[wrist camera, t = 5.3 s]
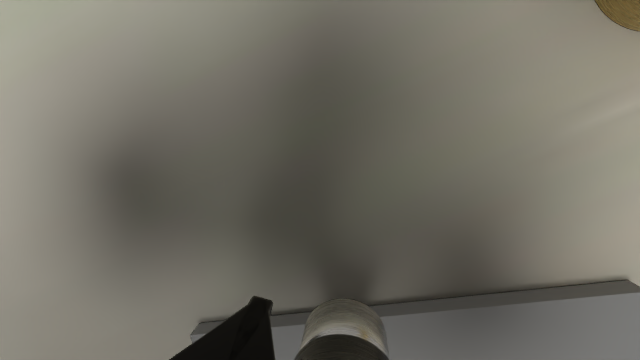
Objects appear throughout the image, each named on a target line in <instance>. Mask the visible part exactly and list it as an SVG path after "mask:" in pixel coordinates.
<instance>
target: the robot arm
mask: <svg viewBox="0 0 640 360" xmlns="http://www.w3.org/2000/svg"><path fill="white" fill-rule="evenodd" d="M272 306H273V302H272V301H271V300H268V299H265V298H261V297H257V296H253V297H252V298H251V300H250V302H249V303H248V305H246V306H245V307H244V308H242V309H241V310H239V311H238V312H236V313H235V314H234V315H232V316H231V317H229V318H228V319H226V320H225V321H224V322H222V323H221V324H219V325H218V326H216V327H215V328H214V329H212V330H211V331H209V332H208V333H206V334H205V335H204V336H202V337H201V338H199V339H198V340H196V341H195V342H194V343H192V344H191V345H189V346H188V347H186V348H185V349H184V350H182V351H181V352H179V353H178V354H176V355H175V356H174V357H172V358H171V359H169V360H275V353H274V345H273V337H272V329H271V321H270V314H271V310H272Z"/></svg>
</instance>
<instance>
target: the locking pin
mask: <svg viewBox="0 0 640 360" xmlns="http://www.w3.org/2000/svg"><path fill="white" fill-rule="evenodd" d="M595 1H596V2H597V4H598V6H599V7H600V9H601V10H602V11H603V12H604V13H605V15H607V16H608V17H609V18H610V19H611V20H613V21H614V22H616V23H617V24H619V25H621V26H623V27H626V28H628V29H632V30H636V31H640V0H595Z"/></svg>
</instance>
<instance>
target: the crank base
mask: <svg viewBox="0 0 640 360" xmlns="http://www.w3.org/2000/svg"><path fill="white" fill-rule="evenodd" d="M368 307H370V308H371V309H372V310H373V311H375V312H376V314H377V315H378V316H379V317H380V319H381V320H382V322H383V324H384V327H385V330H386V336H387V343H388V349H389V356H390V360H640V287H639V286H637V285H636V284H634V283H632V282H630V281H629V280H624V281H614V282H604V283H594V284H584V285H574V286H564V287H554V288H544V289H535V290H525V291H515V292H505V293H495V294H485V295H475V296H465V297H455V298H445V299H435V300H425V301H415V302H406V303H396V304H386V305H376V306H368ZM311 313H312V312H306V313H296V314H287V315H277V316H270V321H271V329H272V337H273V345H274V353H275V360H294V358H295V357H296V355H297V354H298V352H299V349H300V344H301V340H302V336H303V332H304V328H305V324H306V321H307V319H308V317H309V315H310V314H311ZM222 322H224V321H217V322H207V323H199V325H198V326H197V327H196V328H195V330H194V331H193V332H192V334H191V335H190V336H191V340H192V343H194V342H195V341H196V340H198V339H199V338H201V337H202V336H204V335H205V334H206V333H208V332H209V331H211V330H212V329H214V328H215V327H216V326H218V325H219V324H221V323H222Z"/></svg>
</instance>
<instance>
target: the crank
mask: <svg viewBox="0 0 640 360" xmlns="http://www.w3.org/2000/svg"><path fill="white" fill-rule="evenodd" d="M294 360H390V356H389V349H388V343H387V336H386V330H385V327H384V324H383V322H382V320H381V319H380V317H379V316H378V315H377V314H376V312H375V311H373V310H372V309H371V308H370V307H368V306H367V305H365V304H363V303H361V302H358V301H355V300H351V299H334V300H330V301H327V302H325V303H323V304H321V305H319V306H318V307H317V308H315V309H314V310H313V311H312V313H311V314H310V315H309V317H308V319H307V321H306V324H305V328H304V332H303V336H302V340H301V344H300V349H299V352H298V354H297V355H296V357H295V358H294Z"/></svg>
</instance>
